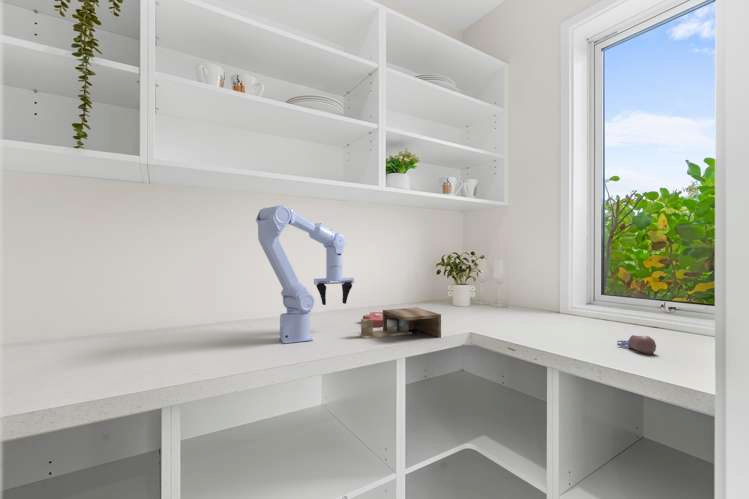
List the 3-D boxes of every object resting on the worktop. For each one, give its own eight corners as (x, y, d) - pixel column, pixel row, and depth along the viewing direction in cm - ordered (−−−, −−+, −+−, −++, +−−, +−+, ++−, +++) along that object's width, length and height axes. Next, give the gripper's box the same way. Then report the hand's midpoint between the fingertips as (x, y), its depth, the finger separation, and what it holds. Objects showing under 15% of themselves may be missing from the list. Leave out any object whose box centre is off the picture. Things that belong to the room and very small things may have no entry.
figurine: (611, 350, 104) (644, 356, 92) (609, 333, 104) (641, 336, 93) (628, 350, 104) (663, 355, 92) (626, 333, 105) (660, 336, 93)
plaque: (363, 310, 146) (397, 310, 147) (363, 319, 146) (397, 319, 146) (362, 318, 128) (401, 318, 129) (362, 328, 128) (401, 328, 129)
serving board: (365, 339, 111) (365, 321, 111) (360, 336, 116) (360, 318, 116) (412, 334, 118) (411, 317, 118) (405, 331, 123) (405, 315, 123)
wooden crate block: (404, 341, 107) (404, 317, 107) (382, 331, 122) (382, 309, 122) (441, 337, 113) (441, 314, 113) (416, 327, 128) (416, 307, 128)
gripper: (317, 266, 116) (317, 306, 115) (357, 266, 121) (357, 304, 121) (312, 266, 122) (312, 304, 122) (350, 265, 128) (350, 301, 128)
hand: (334, 303), depth 122 cm, fingers open, 7 cm apart
